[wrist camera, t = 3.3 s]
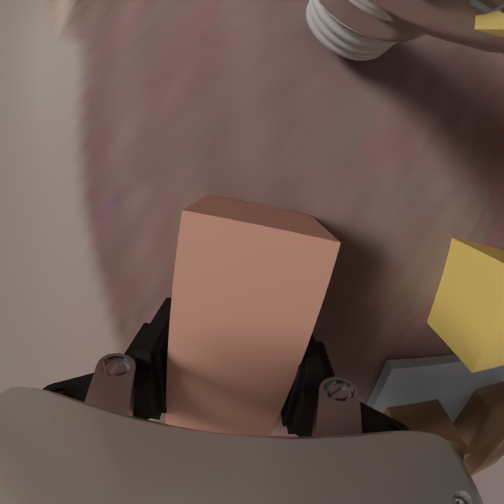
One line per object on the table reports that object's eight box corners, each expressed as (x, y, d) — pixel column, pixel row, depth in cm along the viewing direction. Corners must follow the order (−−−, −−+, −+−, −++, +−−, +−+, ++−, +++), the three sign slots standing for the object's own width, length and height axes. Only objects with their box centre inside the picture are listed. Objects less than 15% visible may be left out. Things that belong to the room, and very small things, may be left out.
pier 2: (475, 389, 13) (507, 434, 8) (503, 381, 13) (534, 417, 8) (443, 434, 14) (466, 478, 10) (474, 424, 15) (497, 461, 10)
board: (386, 359, 13) (392, 369, 12) (520, 342, 13) (526, 347, 12) (329, 466, 16) (331, 474, 15) (460, 437, 16) (463, 442, 15)
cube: (451, 237, 11) (514, 269, 7) (500, 248, 11) (554, 276, 7) (425, 321, 12) (471, 372, 8) (477, 320, 12) (520, 360, 8)
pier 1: (387, 407, 13) (416, 473, 8) (437, 398, 13) (470, 452, 8) (358, 453, 14) (374, 511, 10) (405, 445, 14) (426, 495, 10)
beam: (208, 194, 11) (182, 210, 7) (311, 215, 11) (341, 242, 7) (181, 400, 14) (166, 456, 10) (253, 413, 14) (252, 471, 10)
